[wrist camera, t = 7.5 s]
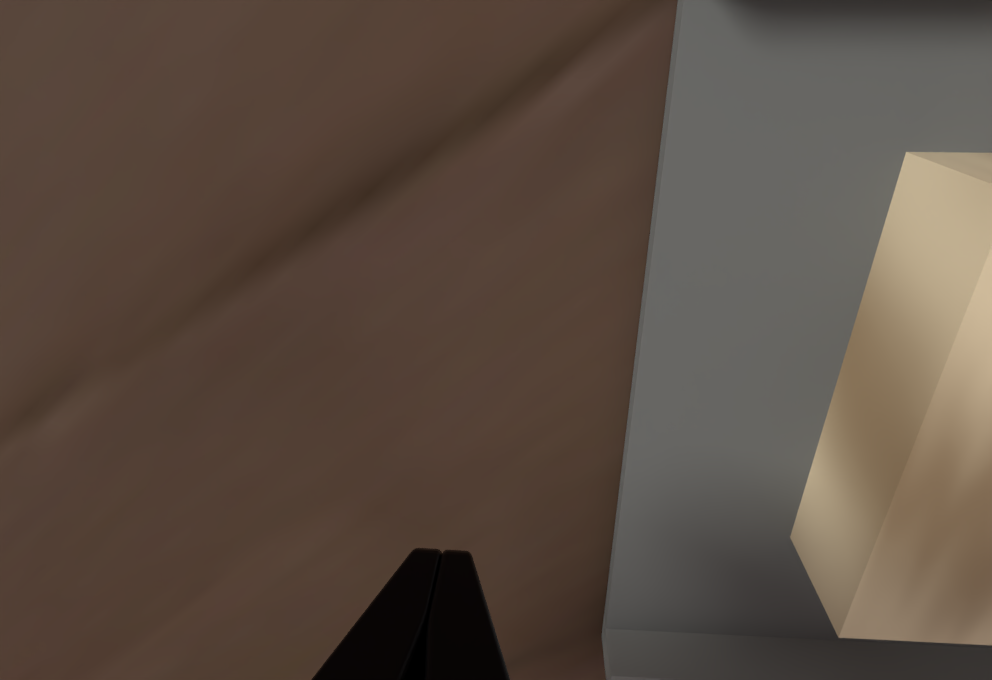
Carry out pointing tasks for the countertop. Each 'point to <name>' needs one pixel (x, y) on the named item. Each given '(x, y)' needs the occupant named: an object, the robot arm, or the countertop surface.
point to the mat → (770, 321)
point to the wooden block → (913, 424)
